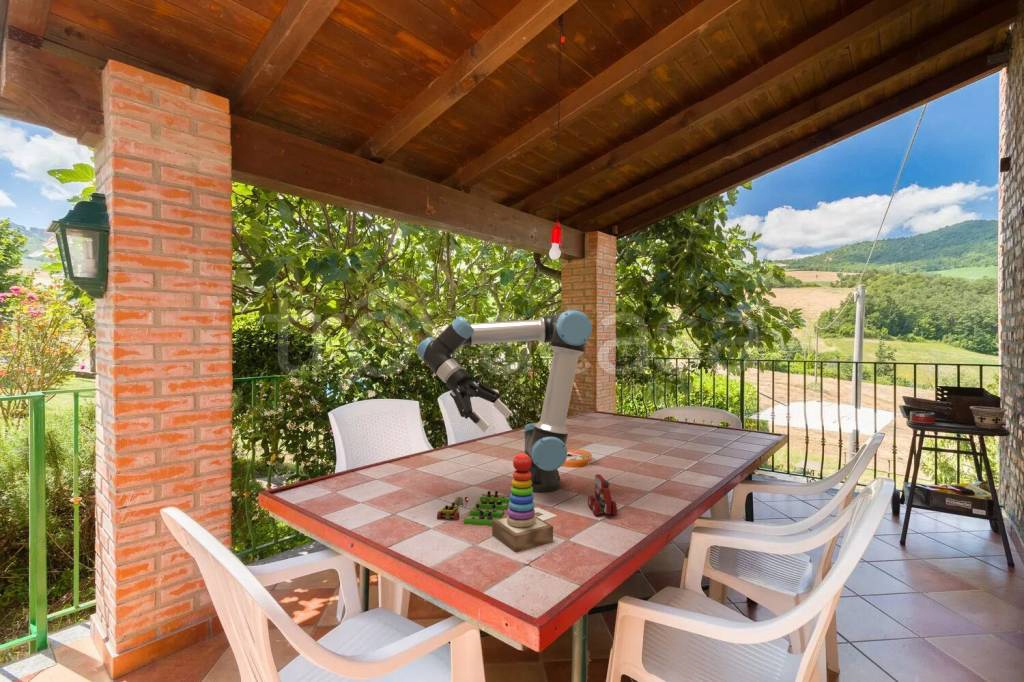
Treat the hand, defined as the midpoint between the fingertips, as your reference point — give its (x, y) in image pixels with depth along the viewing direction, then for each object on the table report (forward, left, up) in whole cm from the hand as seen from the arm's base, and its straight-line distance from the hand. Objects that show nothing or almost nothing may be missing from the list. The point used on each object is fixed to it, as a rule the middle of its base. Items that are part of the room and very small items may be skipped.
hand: (498, 422), depth 145 cm
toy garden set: (+5, -6, -29) cm, 30 cm away
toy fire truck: (-28, +16, -29) cm, 43 cm away
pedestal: (+4, +19, -28) cm, 35 cm away
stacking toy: (+4, +19, -24) cm, 31 cm away
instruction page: (-7, +8, -28) cm, 30 cm away
